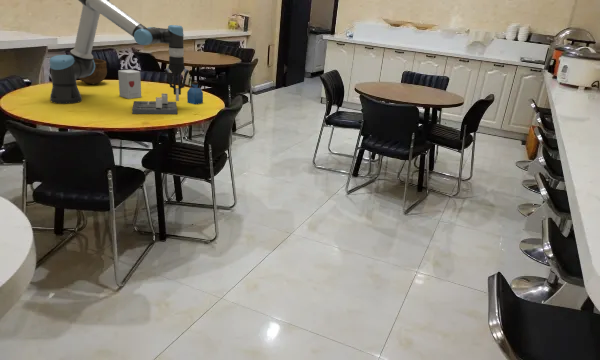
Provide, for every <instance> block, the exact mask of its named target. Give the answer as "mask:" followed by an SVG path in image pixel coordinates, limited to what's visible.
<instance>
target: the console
mask: <svg viewBox="0 0 600 360" xmlns="http://www.w3.org/2000/svg"><path fill="white" fill-rule="evenodd" d="M131 111H132V112H131V113H132V115H178V106H177V101H170V100H169V101H168V104H162V108H156V100H155V101H153V100H151V101H149V100H148V101H146V100H145V101H144V100H143V101H142V100H134V101H133V105H132V109H131Z"/></svg>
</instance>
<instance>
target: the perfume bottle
mask: <svg viewBox="0 0 600 360" xmlns="http://www.w3.org/2000/svg"><path fill="white" fill-rule="evenodd" d="M191 83H192V84H191V87H190V88H189V89H188V90H187V92H186V93H187V94H186V95H187V96H186V97H187V101H186V102H187V104H192V105H200V104H203V103H204V92H203V90H202V89H201V87H199V84H198V83H199V82H198V81H192V82H191Z"/></svg>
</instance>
